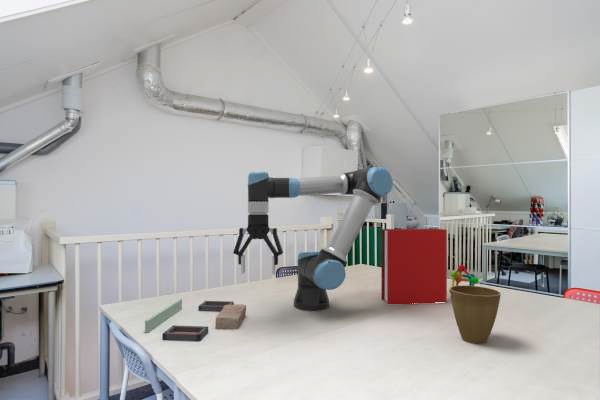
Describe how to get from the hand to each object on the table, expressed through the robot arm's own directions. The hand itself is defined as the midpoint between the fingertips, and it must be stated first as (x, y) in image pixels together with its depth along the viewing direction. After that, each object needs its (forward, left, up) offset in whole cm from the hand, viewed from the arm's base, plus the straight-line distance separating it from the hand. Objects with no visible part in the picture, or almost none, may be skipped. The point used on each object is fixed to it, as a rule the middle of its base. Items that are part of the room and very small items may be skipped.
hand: (258, 273), depth 139 cm
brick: (+10, 0, -18) cm, 21 cm away
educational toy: (-88, -48, -18) cm, 102 cm away
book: (-63, -35, -18) cm, 74 cm away
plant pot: (-73, +10, -18) cm, 76 cm away
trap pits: (+21, 0, -18) cm, 28 cm away
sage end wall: (+36, 0, -18) cm, 40 cm away
